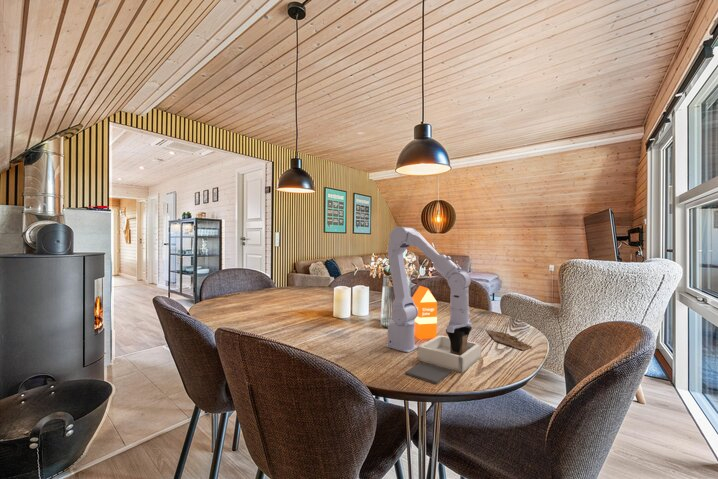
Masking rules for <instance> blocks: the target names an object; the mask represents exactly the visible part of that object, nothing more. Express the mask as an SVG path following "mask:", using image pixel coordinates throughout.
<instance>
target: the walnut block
mask: <svg viewBox="0 0 718 479" xmlns="http://www.w3.org/2000/svg"><path fill="white" fill-rule="evenodd" d="M467 341H468V338H467V335H466V334H464V335H463V337H462V341H461V347H460V352H459V353H458V352H454V351H452V347H451V342H450V353H452V354H456V355H462V354H463V353H465V352H466V351H467Z"/></svg>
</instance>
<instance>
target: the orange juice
mask: <svg viewBox="0 0 718 479" xmlns="http://www.w3.org/2000/svg"><path fill="white" fill-rule="evenodd" d="M411 297H412V299H413V300H414V304H415V306H416V307H417V309H418V316H417V317H416V318H415V338H417V339H418V340H431V339H433V338H435V337H437V336H438V335H437V330H438V329H437V327H438V326H437V323H438V312H437V311H438V301H437V300H436V298H435V297H434V295H433V294H432V292H431V290H430V289H429V288H428V287H424V286H422V285H419V286H418V288H417V289H416V291H415V292H414V294H413V296H411Z"/></svg>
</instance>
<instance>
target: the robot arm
mask: <svg viewBox="0 0 718 479" xmlns="http://www.w3.org/2000/svg"><path fill="white" fill-rule="evenodd" d="M388 236H389V242H388V245H387V257H388V262H389V269H390V270H389V271H390V274H391V275H390V276H391V281H392V286H393V287H392V288H393V295H394V300H393V302H392V303H391V319H392V321H390V323H388V327H387V344H386V348H389V349H394V350H397V351H401V352H405V353H410V352H412V351H414V350H416V349H418V346H419V345H418V344H415V342H416V340H415V339H416V336H415V318H416V317H417V316H418V309H417V307H416V306H415V304H414V300H413V299H412V297H413V296H411V295H410V290H409V284H408V277H407V273H406V272H407V271H406V265H405V260H404V252H406V250H407V249H408V248H409V247H410V246H412V247H416V248H417V249H418V250H419V251H421V253H423V254H424V255H425V256H426V257H427V258H428V259H430V260H431V261H432V266H433V268H434V269H435V270H436V271H437V272H438V273H439V274H440V275H441V276H442V277H443V278H444V279H446V282H447V285H448V287H449V288H450V294H449V295H450V297H449V299H450V301H449V305H450V306H449V307H450V308H449V322H448V323H447V324H448V325H446V329H445V332H446V336H447V337H449V339H450V342H451V347H452V351H454V352H458V353H459V352H460V347H461V341H462V337H463V335H464V334H466V335H467V339H468V337H469V335H470V333H471V331H472V330H473V329H472V328H473V327H472V326H473V323H472V322H471V318H470V317H469V316H468V309H469V310H470V308H469V307H470V306H469V305H470V304H469V302H470V301H469V297H470V296H469V290H470V289H469V286H470V285H471V283H472V277H471V274H469V272H468V271H466V270H462V267H461V266H458V265H457V264H456V263H455V262H453V261H452V257H451V256H450V255H446V254H441V253H439V252H438V250H436V249H435V248H434V247H433V245H431V243H429V241H427V239H426V238H425V237H424V236H423V234H421V233H420V232H419V231H417V229H415V228H414V227H412V226H409V227H407V226H406V227H405V226H396V227H394V228H393V229H392V230H391V231H390V233H389V235H388Z"/></svg>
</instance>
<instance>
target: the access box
mask: <svg viewBox="0 0 718 479" xmlns="http://www.w3.org/2000/svg"><path fill="white" fill-rule="evenodd" d="M481 358H482V343H478V342H474V341H469V340H467V351H466V352H465V353H463V354H462V355H456V354H452V353H450V339H449V337H448V335H441V334H439V335H437V337H435V338H431V339H428V341H425V342H423V343H422V344H420V345H418V348H417V360H418V361H420V362H424V363H428V364H431V365H435V366H438V367H442V368H445V369H449V370H452V371H454V372H459V373H464V372H465V371H467V369H468V370H469V368H470V367H472V366H473V365H474V364H476V362H478V361H479V360H480V359H481Z"/></svg>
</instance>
